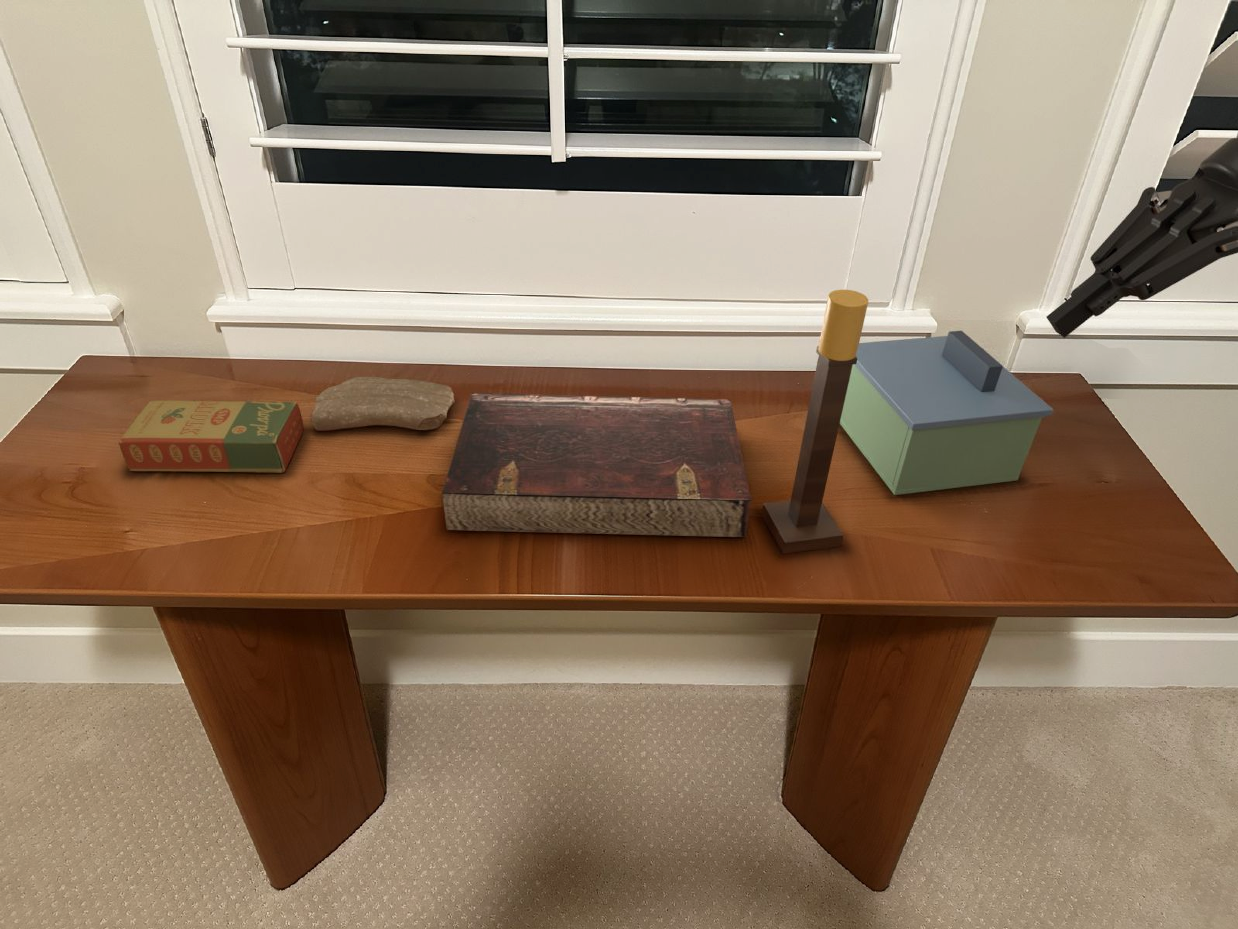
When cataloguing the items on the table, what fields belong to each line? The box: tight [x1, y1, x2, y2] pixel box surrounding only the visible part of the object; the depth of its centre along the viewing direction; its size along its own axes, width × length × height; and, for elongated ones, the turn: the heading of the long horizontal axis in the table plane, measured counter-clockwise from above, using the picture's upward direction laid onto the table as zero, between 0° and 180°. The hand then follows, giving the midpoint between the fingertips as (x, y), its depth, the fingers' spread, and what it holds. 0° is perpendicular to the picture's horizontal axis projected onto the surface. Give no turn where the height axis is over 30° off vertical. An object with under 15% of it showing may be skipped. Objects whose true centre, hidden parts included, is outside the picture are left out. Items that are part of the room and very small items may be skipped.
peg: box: [818, 289, 869, 361], centre depth 69 cm, size 3×3×5 cm
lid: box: [854, 330, 1054, 430], centre depth 88 cm, size 17×16×4 cm
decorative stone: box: [310, 376, 455, 432], centre depth 96 cm, size 10×16×4 cm, turn 91°
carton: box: [118, 400, 305, 474], centre depth 89 cm, size 8×16×4 cm, turn 92°
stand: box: [761, 345, 857, 555], centre depth 76 cm, size 6×6×20 cm
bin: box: [839, 364, 1043, 496], centre depth 92 cm, size 16×15×9 cm
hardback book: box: [441, 392, 752, 538], centre depth 86 cm, size 29×19×5 cm, turn 90°
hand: (1055, 327), depth 88 cm, fingers closed
